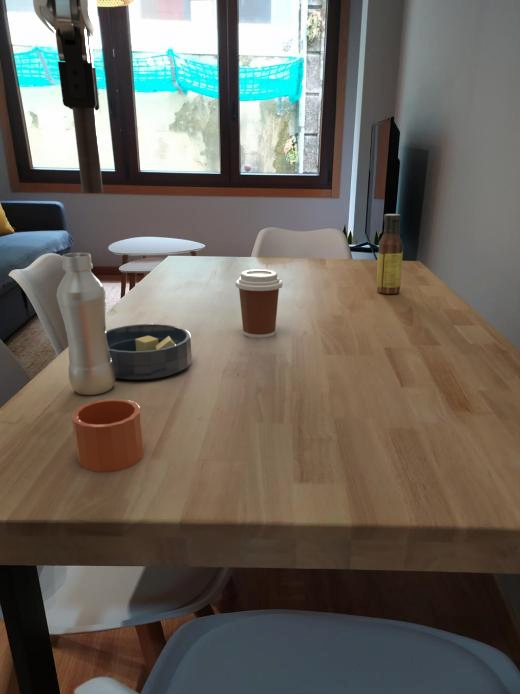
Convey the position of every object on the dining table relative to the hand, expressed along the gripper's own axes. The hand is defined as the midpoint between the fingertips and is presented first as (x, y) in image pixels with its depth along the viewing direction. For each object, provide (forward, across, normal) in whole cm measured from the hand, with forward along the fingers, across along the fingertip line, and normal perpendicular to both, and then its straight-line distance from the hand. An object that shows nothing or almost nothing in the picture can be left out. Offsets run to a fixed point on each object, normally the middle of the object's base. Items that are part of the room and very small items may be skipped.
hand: (82, 107), depth 57 cm
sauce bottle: (+37, -66, +64) cm, 100 cm away
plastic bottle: (+37, -11, -4) cm, 39 cm away
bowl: (+37, -21, +3) cm, 43 cm away
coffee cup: (+37, -36, +25) cm, 58 cm away
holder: (+37, +9, 0) cm, 38 cm away
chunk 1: (+35, -24, +2) cm, 43 cm away
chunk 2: (+34, -20, +7) cm, 40 cm away
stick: (+9, 0, 0) cm, 9 cm away
